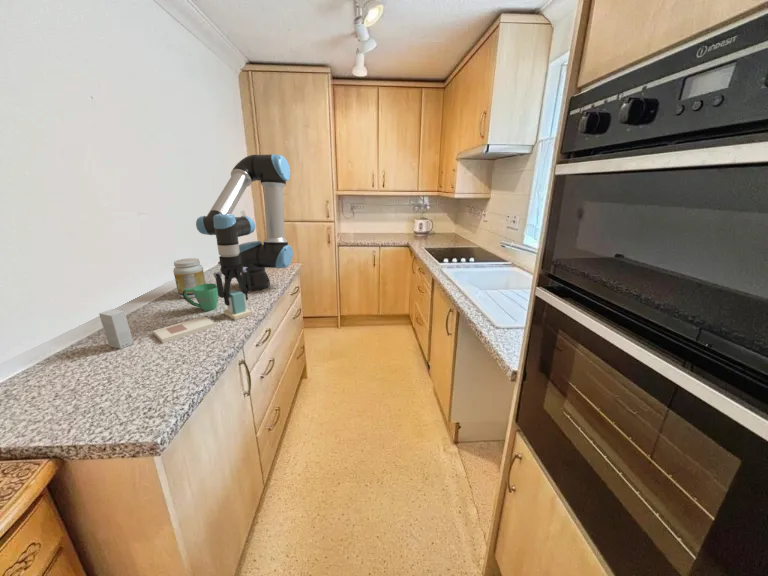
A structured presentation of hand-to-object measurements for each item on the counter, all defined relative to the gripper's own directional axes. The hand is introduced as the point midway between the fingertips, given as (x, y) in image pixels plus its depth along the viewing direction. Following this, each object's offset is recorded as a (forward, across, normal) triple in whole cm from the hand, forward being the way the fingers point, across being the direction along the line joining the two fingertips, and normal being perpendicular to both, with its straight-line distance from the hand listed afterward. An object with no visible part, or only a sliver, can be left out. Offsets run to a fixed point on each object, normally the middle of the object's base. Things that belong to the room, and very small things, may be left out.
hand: (238, 309), depth 130 cm
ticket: (+2, +20, 0) cm, 20 cm away
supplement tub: (+2, +3, -40) cm, 40 cm away
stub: (+2, 0, 0) cm, 2 cm away
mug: (+2, +7, -17) cm, 18 cm away
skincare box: (+2, +38, -4) cm, 38 cm away
